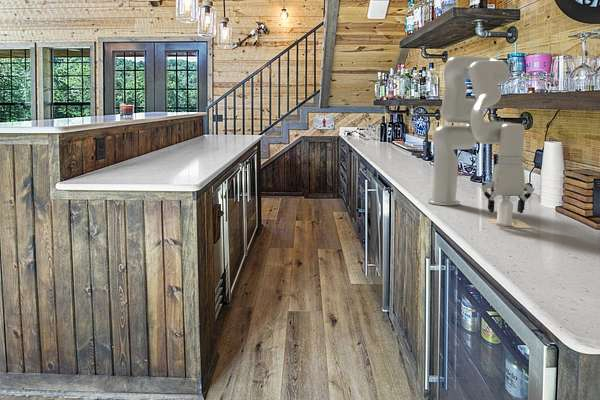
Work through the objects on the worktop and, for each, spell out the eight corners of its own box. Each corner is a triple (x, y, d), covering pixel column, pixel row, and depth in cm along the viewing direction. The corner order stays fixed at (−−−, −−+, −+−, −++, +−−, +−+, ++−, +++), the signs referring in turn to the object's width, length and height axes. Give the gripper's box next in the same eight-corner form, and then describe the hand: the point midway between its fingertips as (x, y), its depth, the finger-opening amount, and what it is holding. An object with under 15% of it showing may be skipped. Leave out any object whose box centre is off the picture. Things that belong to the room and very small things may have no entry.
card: (486, 219, 212) (486, 218, 212) (517, 220, 212) (517, 219, 212) (499, 227, 198) (500, 226, 198) (533, 228, 198) (533, 227, 198)
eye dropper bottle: (497, 225, 199) (500, 190, 197) (496, 222, 204) (499, 187, 202) (511, 226, 198) (514, 191, 196) (509, 223, 203) (512, 188, 201)
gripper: (531, 160, 201) (527, 210, 204) (480, 159, 201) (476, 209, 204) (540, 162, 194) (535, 214, 196) (487, 161, 193) (483, 213, 196)
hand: (505, 212), depth 200 cm, fingers open, 9 cm apart
